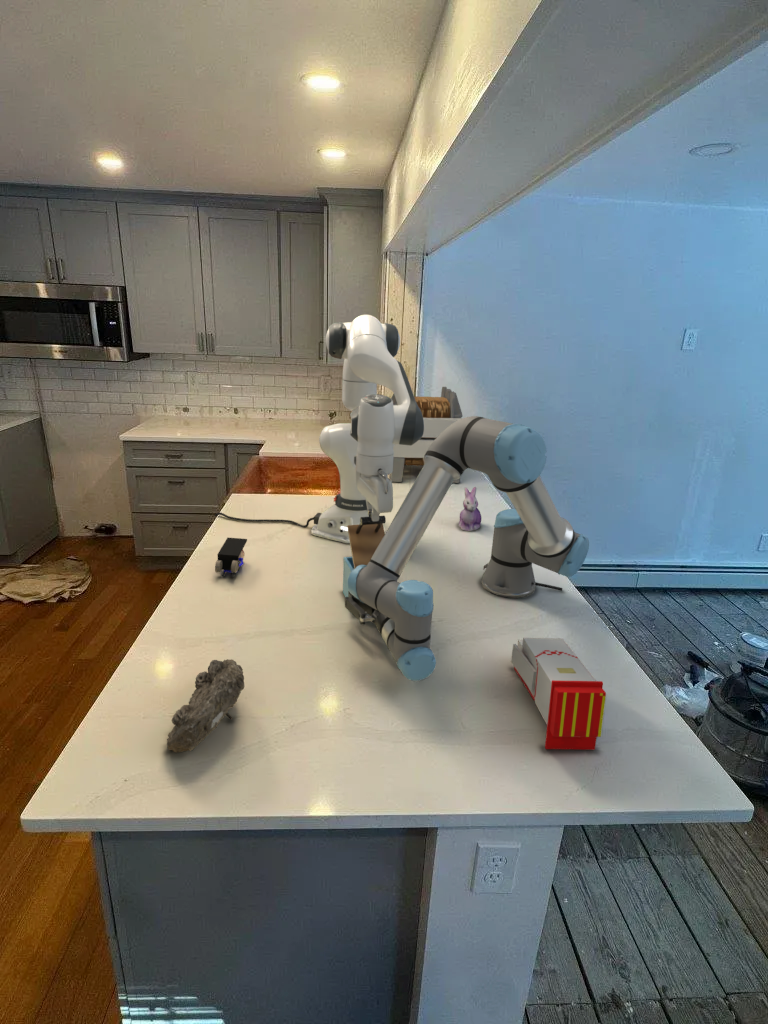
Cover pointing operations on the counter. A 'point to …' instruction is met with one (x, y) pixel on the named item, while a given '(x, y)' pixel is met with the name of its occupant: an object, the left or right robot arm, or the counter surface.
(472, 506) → the figurine
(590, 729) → the toy
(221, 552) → the black toy rover
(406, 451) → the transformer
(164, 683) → the counter surface
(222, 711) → the fossil
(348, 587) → the right robot arm
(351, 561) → the chest
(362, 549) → the lid
